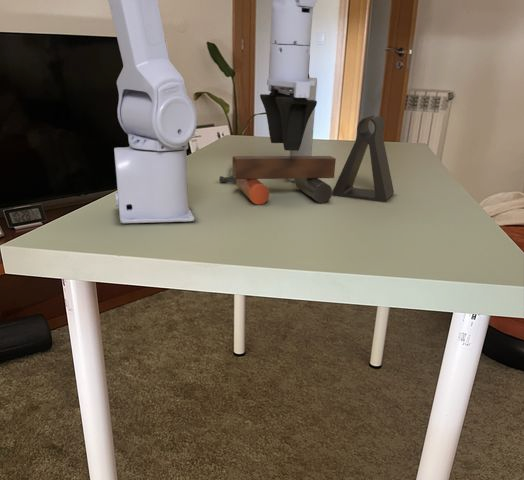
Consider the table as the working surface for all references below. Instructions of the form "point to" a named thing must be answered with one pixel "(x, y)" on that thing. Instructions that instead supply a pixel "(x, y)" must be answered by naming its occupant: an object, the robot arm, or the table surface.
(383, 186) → the dark grey triangle stand
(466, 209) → the table surface
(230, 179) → the tomahawk
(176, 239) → the table surface
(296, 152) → the vintage mobile phone
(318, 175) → the bar
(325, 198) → the rods
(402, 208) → the table surface
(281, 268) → the table surface
